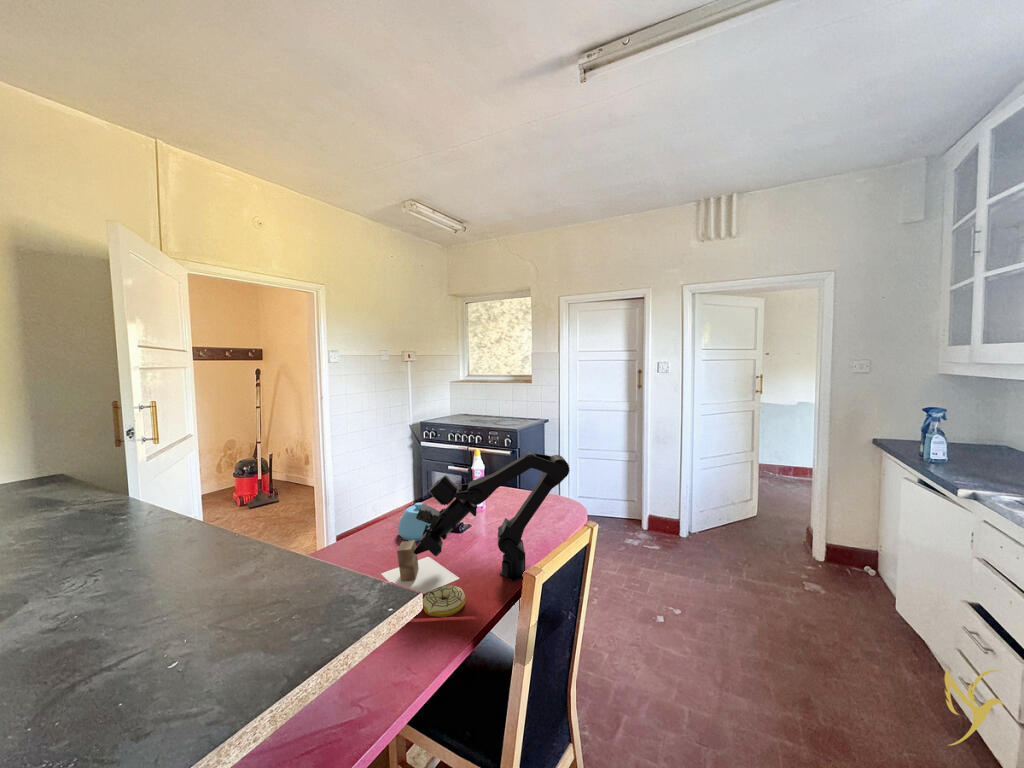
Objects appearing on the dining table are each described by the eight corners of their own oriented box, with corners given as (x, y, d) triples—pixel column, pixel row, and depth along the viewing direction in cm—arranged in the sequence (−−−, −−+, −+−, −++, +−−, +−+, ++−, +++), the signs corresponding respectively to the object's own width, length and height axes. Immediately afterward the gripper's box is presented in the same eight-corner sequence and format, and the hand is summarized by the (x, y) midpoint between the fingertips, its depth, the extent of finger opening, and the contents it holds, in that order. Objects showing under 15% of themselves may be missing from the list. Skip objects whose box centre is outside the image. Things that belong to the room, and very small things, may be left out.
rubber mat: (428, 558, 129) (428, 556, 129) (459, 580, 116) (459, 578, 116) (380, 575, 119) (380, 573, 119) (409, 602, 105) (409, 600, 105)
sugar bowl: (416, 547, 138) (415, 514, 137) (389, 536, 147) (389, 505, 146) (448, 532, 150) (447, 502, 149) (421, 523, 159) (421, 494, 158)
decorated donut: (420, 601, 106) (419, 587, 106) (459, 593, 110) (459, 579, 110) (426, 624, 96) (426, 609, 96) (469, 614, 100) (469, 599, 100)
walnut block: (418, 568, 121) (414, 539, 120) (415, 579, 115) (411, 549, 114) (405, 570, 120) (401, 541, 120) (401, 581, 114) (396, 551, 114)
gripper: (437, 486, 126) (401, 521, 126) (428, 507, 108) (387, 548, 107) (462, 510, 127) (427, 545, 127) (457, 535, 108) (416, 576, 108)
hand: (415, 552), depth 117 cm, fingers closed, pressing on walnut block
